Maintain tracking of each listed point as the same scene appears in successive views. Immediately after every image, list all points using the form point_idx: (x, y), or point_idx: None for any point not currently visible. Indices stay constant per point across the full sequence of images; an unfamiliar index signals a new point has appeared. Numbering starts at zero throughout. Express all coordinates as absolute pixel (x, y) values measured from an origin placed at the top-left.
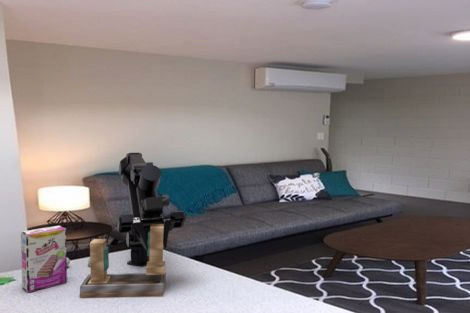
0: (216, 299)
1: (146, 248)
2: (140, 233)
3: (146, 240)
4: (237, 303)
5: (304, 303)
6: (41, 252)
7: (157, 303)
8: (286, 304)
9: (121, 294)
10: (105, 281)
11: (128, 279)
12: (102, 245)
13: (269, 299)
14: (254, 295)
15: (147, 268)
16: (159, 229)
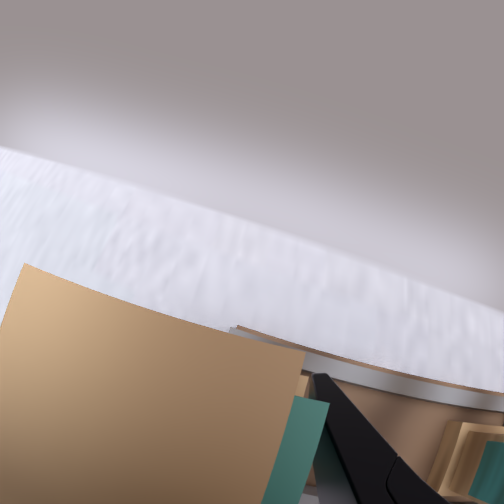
0: (87, 233)
1: (326, 374)
2: (430, 492)
3: (330, 425)
4: (62, 193)
5: None
6: None
7: (273, 271)
8: (5, 166)
9: (400, 373)
10: (463, 439)
11: None
12: None
13: (6, 195)
14: (10, 225)
15: (301, 375)
16: (93, 297)
